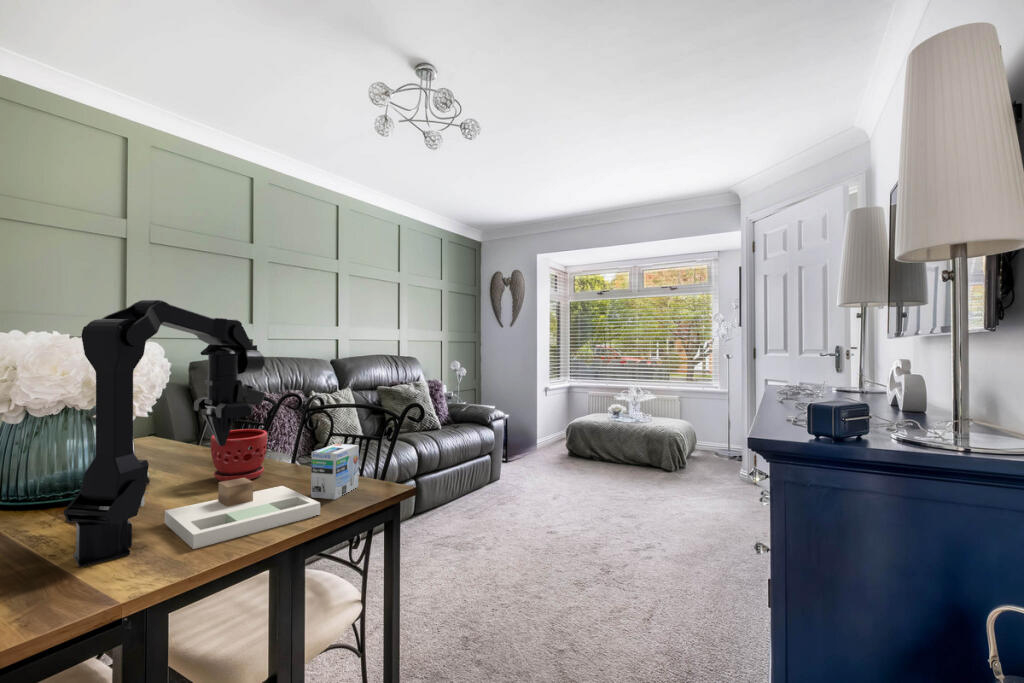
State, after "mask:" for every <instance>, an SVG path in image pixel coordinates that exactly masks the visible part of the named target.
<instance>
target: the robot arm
mask: <svg viewBox="0 0 1024 683" xmlns="http://www.w3.org/2000/svg"><path fill="white" fill-rule="evenodd" d="M161 326H163V327H166V328H170V329H172V330H173V329H174V330H178V331H181V332H183V333H184V332H185V333H188V334H192V335H194V336H196V337H197V338H198V339H199V341H202V342H204V343H206V344H208V345H207V346H206V347H205V348H204V349H203V350H201V352H200V355H201V356H208V358H207V379H205V380H204V385H206V386H207V396H206V397H198V398H197V399H196V400H194V402H193V411H196V412H201V411H202V410H206V413H202V417H203V418H204V420H205V421H206V423H207V425H208V427H209V429H210V431H211V432H212V436H213V435H214V437H215V439H216V441H217V443H218V445H219V446H224V445H225V444H226V441H227V438H228V435H229V432H230V430H232V426H233V423H234V422H235V421H236V420H238V419H239V418H242V417H252V416H254V406H258V407H261V406H262V404H263V401H264V399H265V397H266V392H263V391H259V390H257V389H254V386H253V385H250V384H245V383H243V381H242V380H241V379H238V378H239V375H244V374H245V375H246V374H255V373H259V372H261V371H262V370H263V368H264V366H265V363H266V362H265V357H264V355H263V354H262V352H261V351H259V350H258V345H254V344H252V342H251V340H250V338H249V336H248V334H247V332H246V329H245V328H244V326H243V324H242V322H241V321H240V320H238V319H236V318H235V319H234V318H233V319H231V318H222V317H220V318H219V317H210V316H206V315H203V314H200V313H197V312H194V311H191V310H188V309H185V308H182V307H179V306H175V305H172V304H169V303H168V302H166V301H164V300H162V299H161V300H160V299H141V300H139V301H136V302H134V303H132V304H131V305H129V306H128V307H125V308H124V309H120V310H117V311H115V312H112V313H110V314H107V315H105V316H104V317H102V318H100V319H93V320H91V321H90V322H89V323H88V324H86V325H85V326H84V327H83V328H82V331H81V342H82V348H83V354H84V356H85V358H86V359H87V360H88V362H89V363H90V365H91V367H92V368H93V370H94V372H95V457H94V458H93V460H92V461H91V463H90V464H89V465H88V468H87V469H86V470H85V472H84V475H83V480H82V486H81V489H80V491H79V492H78V493H77V494H76V496H75V497H74V498H73V499H72V500H71V501H70V503H69V504H68V505H67V506H66V507H65V509H64V510H63V516H64V518H65V521H66V522H67V523H73V522H74V523H76V524H75V526H76V533H75V536H76V537H75V552H74V553H73V558H74V560H75V562H76V564H77V567H79V568H84V567H86V566H90V565H95V564H99V563H103V562H107V561H111V560H115V559H118V558H123V557H126V556H130V555H131V550H130V549H131V548H132V546H133V544H132V543H133V523H132V522H131V521H130V520H129V519H132V518H134V517H137V516H138V513H139V510H140V504H141V501H142V498H143V495H144V496H145V492H147V491H146V490H147V489H146V488H147V484H150V479H149V475H148V474H149V467H150V466H149V462H148V460H147V459H138V457H137V456H136V455H135V453H134V370H135V368H136V367H137V366H138V364H139V363H140V361H141V359H143V357H144V354H145V349H146V344H147V341H148V340H149V339H151V338H152V337H153V336H155V335H156V334H157V333H159V329H160V327H161ZM100 506H103V507H110V508H109V509H108V510H104V509H99V507H100Z"/></svg>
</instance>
